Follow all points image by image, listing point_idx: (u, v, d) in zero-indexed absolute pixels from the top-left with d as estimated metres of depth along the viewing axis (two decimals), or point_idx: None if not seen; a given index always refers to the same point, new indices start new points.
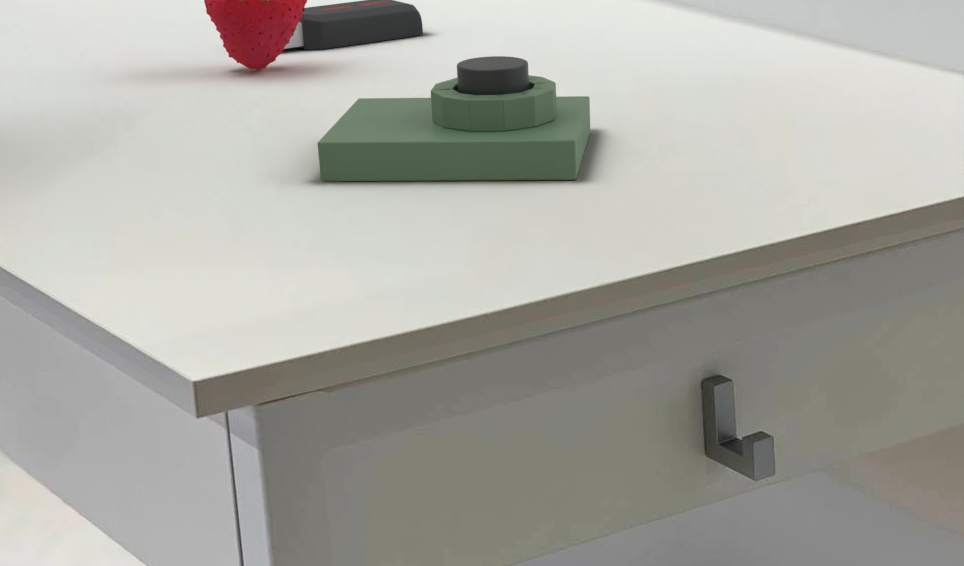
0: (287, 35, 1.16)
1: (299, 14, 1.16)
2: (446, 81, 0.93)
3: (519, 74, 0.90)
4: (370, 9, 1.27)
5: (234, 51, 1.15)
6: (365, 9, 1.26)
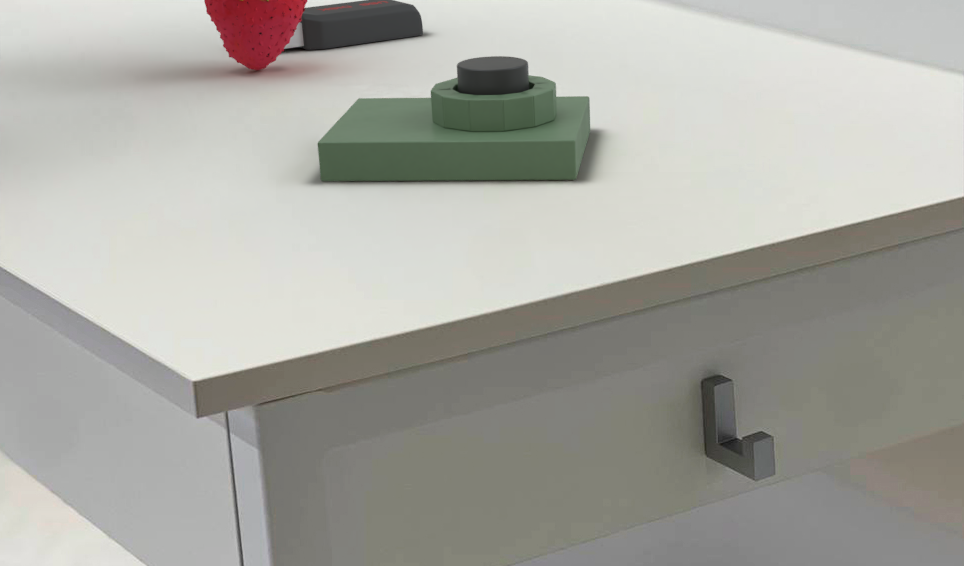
0: (287, 35, 1.16)
1: (299, 14, 1.16)
2: (446, 81, 0.93)
3: (519, 74, 0.90)
4: (370, 9, 1.27)
5: (234, 51, 1.15)
6: (365, 9, 1.26)
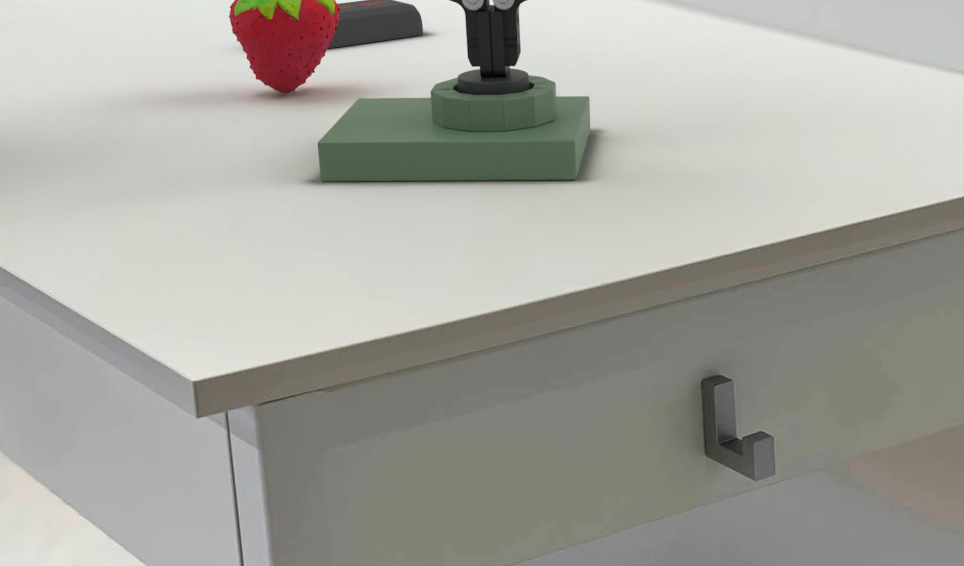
0: (318, 56, 1.08)
1: (331, 34, 1.08)
2: (446, 81, 0.93)
3: (519, 86, 0.90)
4: (370, 9, 1.27)
5: (262, 73, 1.07)
6: (365, 9, 1.26)
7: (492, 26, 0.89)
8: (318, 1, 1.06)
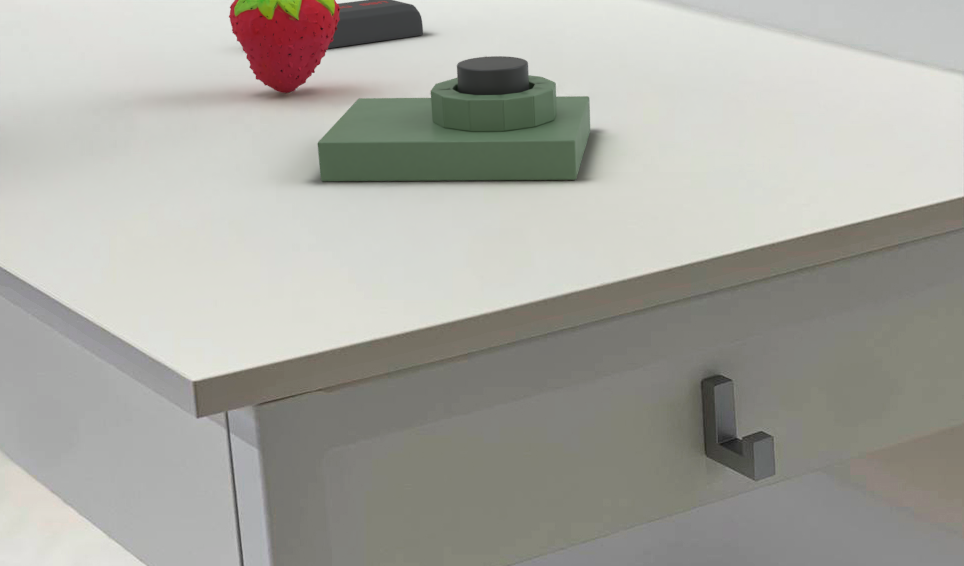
0: (318, 56, 1.08)
1: (331, 34, 1.08)
2: (446, 81, 0.93)
3: (519, 74, 0.90)
4: (370, 9, 1.27)
5: (262, 73, 1.07)
6: (365, 9, 1.26)
7: None
8: (318, 1, 1.06)
